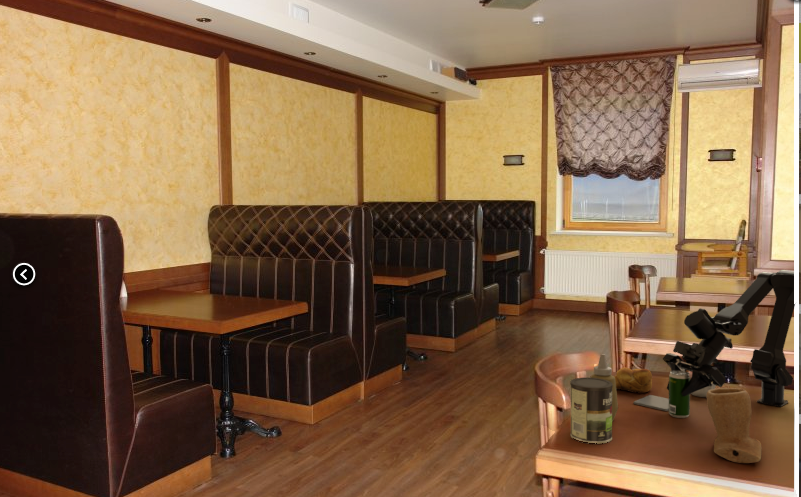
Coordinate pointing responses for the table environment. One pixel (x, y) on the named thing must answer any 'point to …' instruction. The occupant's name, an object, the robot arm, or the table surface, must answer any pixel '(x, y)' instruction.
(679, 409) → the guarana soda can
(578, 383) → the coffee can
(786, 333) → the robot arm
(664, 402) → the coaster
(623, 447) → the table surface
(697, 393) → the cupcake
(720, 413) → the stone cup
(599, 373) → the squeeze bottle
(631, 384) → the bread roll
